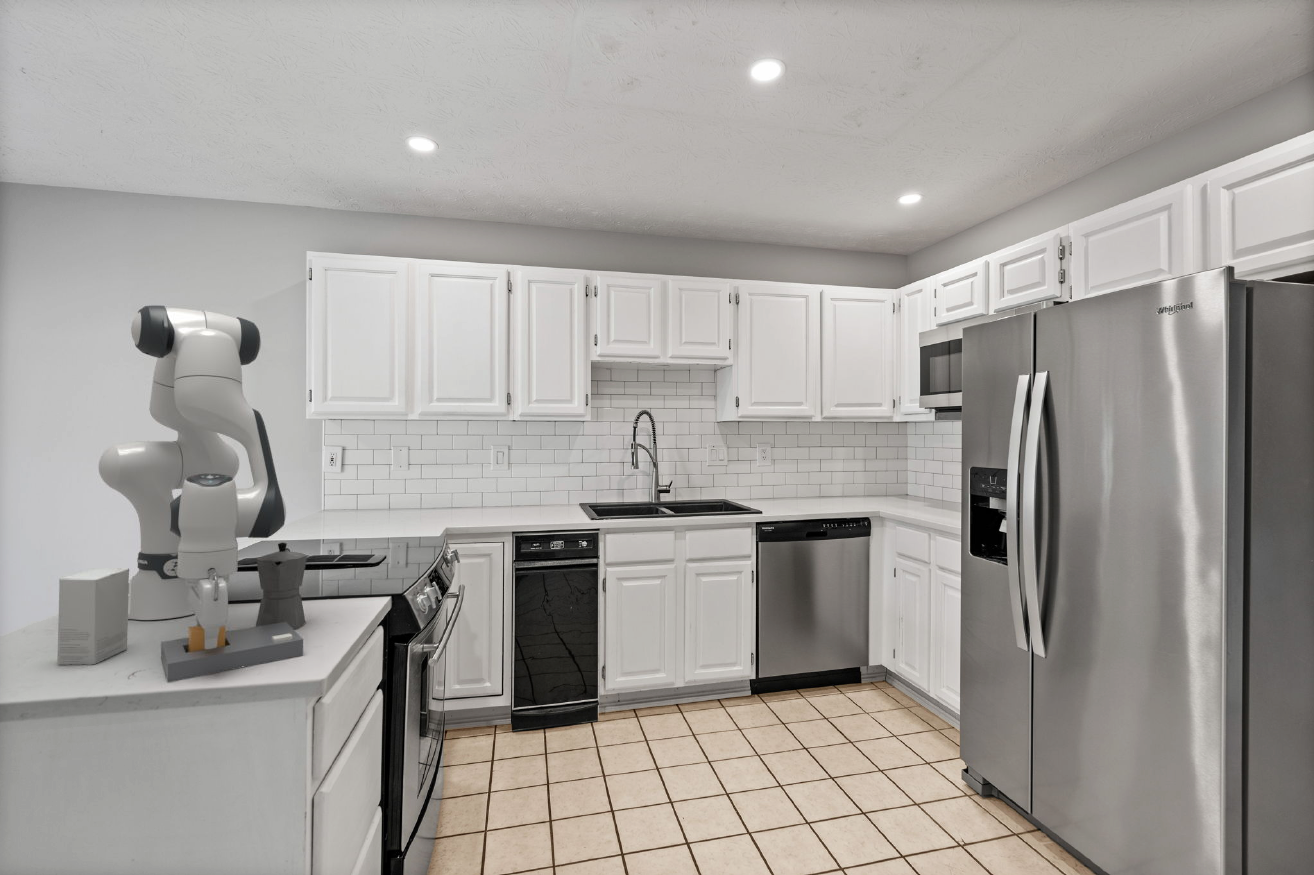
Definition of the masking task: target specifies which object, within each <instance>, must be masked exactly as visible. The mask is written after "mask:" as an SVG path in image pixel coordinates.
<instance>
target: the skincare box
mask: <svg viewBox="0 0 1314 875" xmlns="http://www.w3.org/2000/svg"><path fill="white" fill-rule="evenodd" d="M129 576H130V568H128V567H126V568H123V567H121V568H120V567H115V568H114V567H113V568H112V567H95V568H90V569H88V570H85V571H81V572H78V573H74V574H70V575H68V576H64V577H61V578H58V579H59V582H58V584H59V586H58V589H59V590H58V624H57V625H58V626H57V628H58V630H57V631H58V632H57V663H56V664H57V666H70V665H69V664H72V665H71V666H83V665H82V664H85V665H84V666H89V665H88V664H95V665H96V663H97V664H98V663H101V662H103V661H105V660H106V659H110V658H111V657H113V656H115V655H117V654H120V653H121V652H123V651H126V650H128V631H129V630H128V625H129V624H128V622H129V621H128V620H129V619H128V596H129V594H128V588H129V580H130V577H129ZM104 659H105V660H104ZM100 661H101V662H100ZM67 664H68V665H67ZM86 664H87V665H86Z"/></svg>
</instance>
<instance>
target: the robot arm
mask: <svg viewBox="0 0 1314 875" xmlns="http://www.w3.org/2000/svg"><path fill="white" fill-rule="evenodd" d="M130 331H131V332H130V333H131V336H132V337H131V338H132V339H133V342H134V345H135V347H136V349H138V350H139V351H140V352H141V353H142V354H145V355H148V356H151V357H154V358H157V360H156V364H155V366H154V373H153V377H152V384H151V394H150V400H149V401H150V402H149V413H150V415H151V417H152V418H153V420H155V421H156V422H157V423H159V424H160V425H162V426H163V427H166V428H168V429H171V430H173V431H176V432H177V440H171V441H170V440H169V441H166V440H165V441H163V440H162V441H161V440H159V441H158V440H157V441H156V440H154V441H150V440H146V441H143V440H139V441H138V440H137V441H131V442H123V443H119V444H113V445H111V446H109V447H108V448H107V449H106V450H104V452H102V454H101V456H100V458H99V462H98V473H99V476H100V478H101V479H102V481H103V482H104V483H105V484H106V485H107V486H108V487H109V488H111V489H112V490H114V491H116V492H118V493H119V494H121V495H123V497H125V498H126V500H128V501H129V502H130V503H131V505H132V506H133V508H134V510H135V512H136V513H137V517H138V522H139V529H140V531H139V532H140V534H139V535H140V551H139V552H138V553H137V559H136V561H137V569H138V571H137V573H136V574H135V575H133V576H132V577H131V578H129V588H128V620H140V621H154V620H155V621H156V620H165V619H166V620H168V619H174V618H181V617H186V616H192V615H195V620H196V626H201V627H202V628H203V629H204V647H205V649H213V648H216V647H217V638H218V634H219V630H220V627H221V626H225V627H226V625H227V624H228V619H229V600H228V599H229V598H228V597H229V595H228V594H229V593H228V591H229V590H228V582H230V575H234V574H236V573H237V572H238V564H239V563H238V561H239V558H238V557H239V556H238V554H239V543H238V540H237V538H248V539H252V538H253V539H268V538H269V537H272V536H273V535H274V534H276V533H277V532H279V531H280V530H281V529H282V528H283V527H284V526H285V521H286V518H287V506H286V504H285V501H284V497H283V495H282V493H281V490H280V485H279V482H278V477H277V474H276V468H275V463H274V459H273V453H272V449H271V445H270V440H269V436H268V432H267V428H266V425H265V422H264V419H263V417H262V414H261V413H260V411H258V410H256V409H254V408H253V407H251V406H250V404H249V403H248V402H247V400H246V397H245V395H244V390H243V373H242V366H247V365H249V364H252V363H253V362H254V361H255V360H256V359H257V358H258V355H259V353H260V350H261V347H262V340H261V333H260V330H259V328H258V326H257V325H256V324H255V322H253V321H250V320H248V319H245V318H242V317H239V316H237V317H233V316H230V315H225V314H222V313H218V312H213V311H208V310H203V309H202V310H198V309H197V310H196V309H190V308H178V307H166V306H165V305H155V304H154V305H145V306H143V307H141V308H140V309H138V311H137V314H136V315H135V316H134V318H133V319H132V322H131V327H130ZM219 435H223V436H226V437H228V438H231V439H233V440H234V441H237V442H238V443H240V444H241V445H242V446H243V447H244V449H245V452H246V453H247V454H246V455H247V457H248V458H247V459H248V462H249V467H250V473H251V476H252V481H253V485H252V486H251V487H247V488H237V485H236V481H235V478H236V476H237V475H238V472H239V469H240V458H239V456H238V453H237V452H236V450H235V449H234V448H233V447H232V446H231V445H229V444H228V443H226V442H225V441H224V440H223V439H222V438H221V437H220V436H219ZM173 490H181V494H179V495H178V496H177V497H175V498H174V496H173Z"/></svg>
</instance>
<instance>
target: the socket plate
mask: <svg viewBox="0 0 1314 875" xmlns="http://www.w3.org/2000/svg"><path fill="white" fill-rule="evenodd" d="M188 646H189V637H183V638H177V639H171V640H165V641H161V642H160V660H161V663H162V664H161V665H162V667H164V668H163V671H164V674H165V678H166V680H167V683H170V682H174V681H179V680H183V679H185V680H186V679H189V678H195V677H200V676H205V675H209V674H215V673H219V672H225V671H224V670H226V671H230V670H234V669H233V668H236V669H240V668H239V667H241V668H243V667H242V666H246V667H250V666H249V665H251V666H255V665H260V664H265V663H271V662H275V661H276V660H277V661H281V660H280V659H282V660H287V659H290V658H289V657H292V658H297V657H301V656H304V639H303V637H302V636H301V635H300V634H299V633H298V632H297V631H296V629H293V628H292V627H291V626H290V625H289V624H288V623H287V622H282V623H276V624H270V625H263V626H257V627H256V626H252V627H247V628H246V627H245V628H240V629H239V628H238V629H234V630H229V631H228V630H227V631H226V630H225V646H222V647H217V648H213V649H205V650H199V651H194V652H188ZM296 656H297V657H296ZM286 658H287V659H286ZM270 661H271V662H270ZM277 661H276V662H277Z"/></svg>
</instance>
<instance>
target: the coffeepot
mask: <svg viewBox="0 0 1314 875" xmlns="http://www.w3.org/2000/svg"><path fill="white" fill-rule="evenodd" d="M277 545H278V546H277V547H278V551H276V552H272V553H267V554H265V555H262V556H259V557H256V567H257V571H258V579H259V585H260V589H261V590H262V598H261V599H260V604H259V608H258V613H257V618H256V623H255V627H257V626H263V625H270V624H276V623H282V622H287V623H288V624H289V625H290V626H291V627H292V628H293V629H294V630H296V629H299V628H302V627H303V626H304V625H305V624H306V616H305V612H304V611H305V610H304V606H303V601H302V595H301V594H300V587H301V586H303V579H304V574H305V569H306V564H307V559H308V554H304V553H302V552H297V551H291V550H290V549H289V548H288V547H287V545H288V543H286V542H280V543H277Z"/></svg>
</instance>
